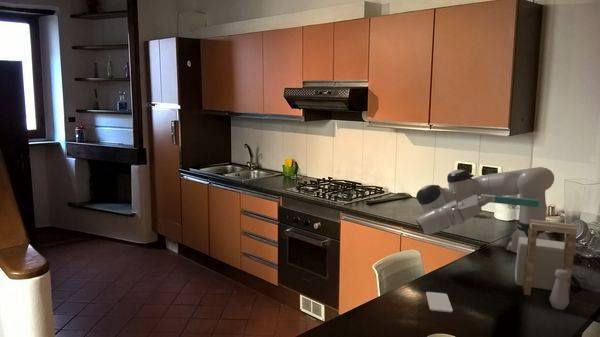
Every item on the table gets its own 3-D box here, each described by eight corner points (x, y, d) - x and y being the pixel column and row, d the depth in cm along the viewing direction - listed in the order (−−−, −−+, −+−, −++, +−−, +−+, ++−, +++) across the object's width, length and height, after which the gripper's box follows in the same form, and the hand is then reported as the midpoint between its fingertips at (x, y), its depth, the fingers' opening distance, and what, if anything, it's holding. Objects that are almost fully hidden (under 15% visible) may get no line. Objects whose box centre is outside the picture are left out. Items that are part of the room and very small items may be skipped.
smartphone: (446, 293, 173) (453, 311, 158) (446, 295, 173) (453, 313, 158) (425, 291, 174) (430, 308, 159) (425, 293, 174) (429, 311, 159)
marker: (480, 200, 188) (480, 194, 188) (537, 205, 182) (537, 199, 182) (480, 201, 186) (481, 195, 186) (538, 207, 180) (538, 200, 179)
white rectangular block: (514, 275, 193) (518, 236, 191) (559, 282, 188) (564, 242, 185) (516, 284, 184) (520, 243, 181) (564, 291, 178) (569, 249, 176)
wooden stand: (522, 287, 181) (530, 219, 177) (564, 293, 176) (573, 224, 173) (524, 294, 175) (531, 223, 171) (568, 301, 170) (577, 228, 166)
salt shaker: (551, 302, 169) (555, 266, 167) (569, 307, 165) (574, 270, 163) (546, 307, 164) (551, 270, 162) (565, 312, 161) (570, 274, 159)
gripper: (460, 213, 200) (493, 199, 195) (460, 225, 181) (496, 210, 176) (453, 199, 200) (486, 185, 196) (452, 210, 181) (488, 195, 176)
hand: (491, 197), depth 186 cm, fingers closed on marker, 2 cm apart
